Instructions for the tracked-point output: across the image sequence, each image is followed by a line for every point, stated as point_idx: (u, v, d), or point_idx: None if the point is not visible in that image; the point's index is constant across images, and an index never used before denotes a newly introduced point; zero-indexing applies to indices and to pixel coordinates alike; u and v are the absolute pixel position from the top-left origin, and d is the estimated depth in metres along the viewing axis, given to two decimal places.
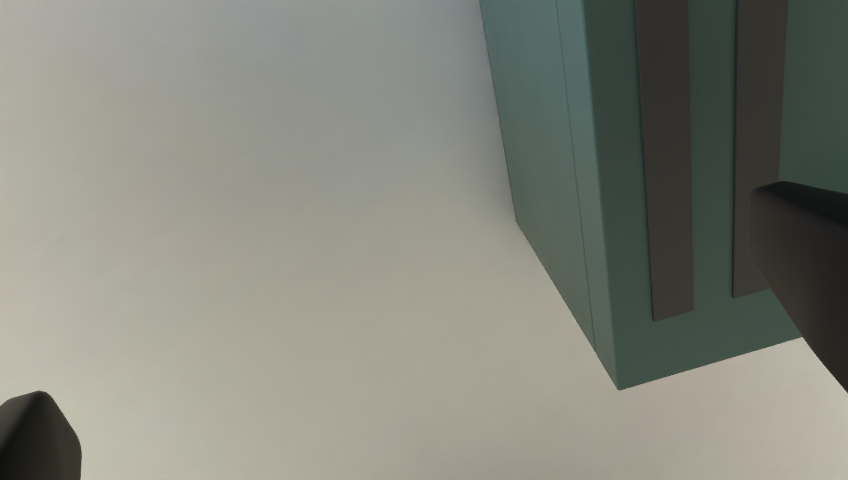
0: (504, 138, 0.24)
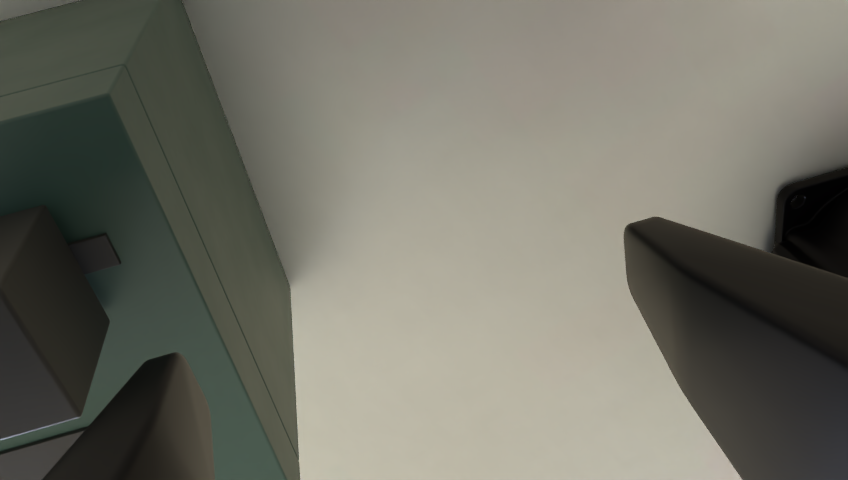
0: None
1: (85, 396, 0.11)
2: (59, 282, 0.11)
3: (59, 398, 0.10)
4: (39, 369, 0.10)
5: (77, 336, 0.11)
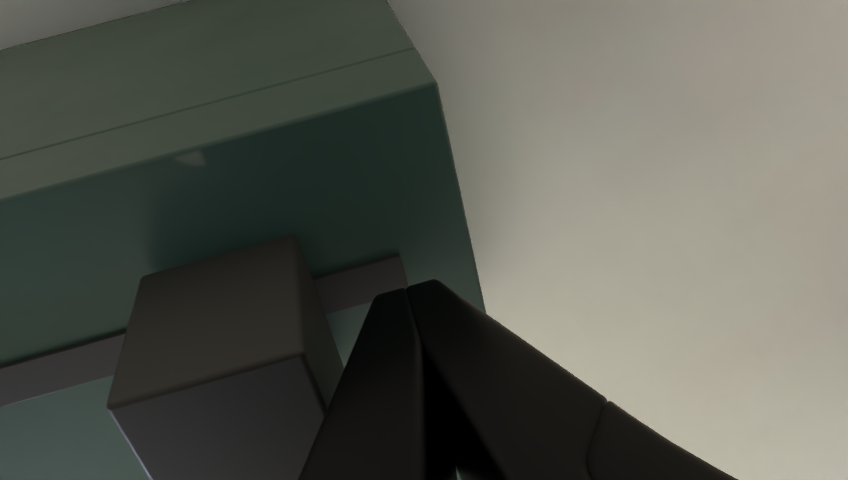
0: None
1: None
2: (321, 332, 0.09)
3: None
4: None
5: None
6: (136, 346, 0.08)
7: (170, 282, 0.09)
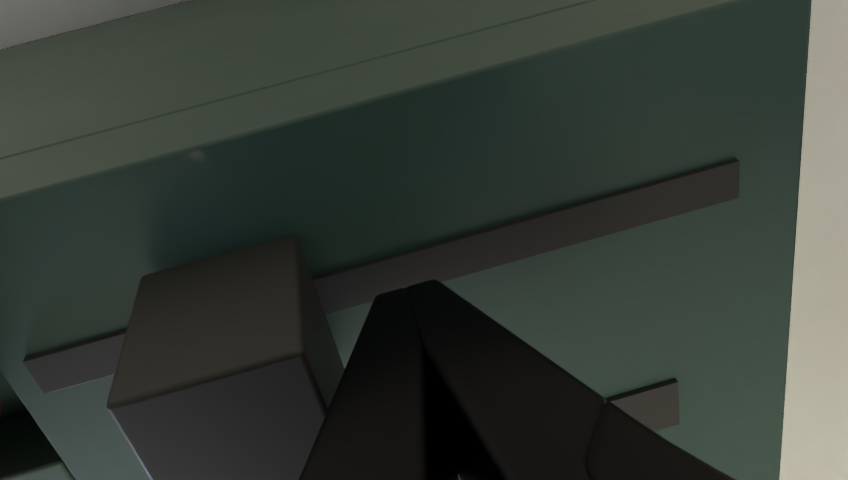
0: None
1: None
2: (321, 331, 0.09)
3: None
4: None
5: None
6: (136, 346, 0.08)
7: (171, 281, 0.09)
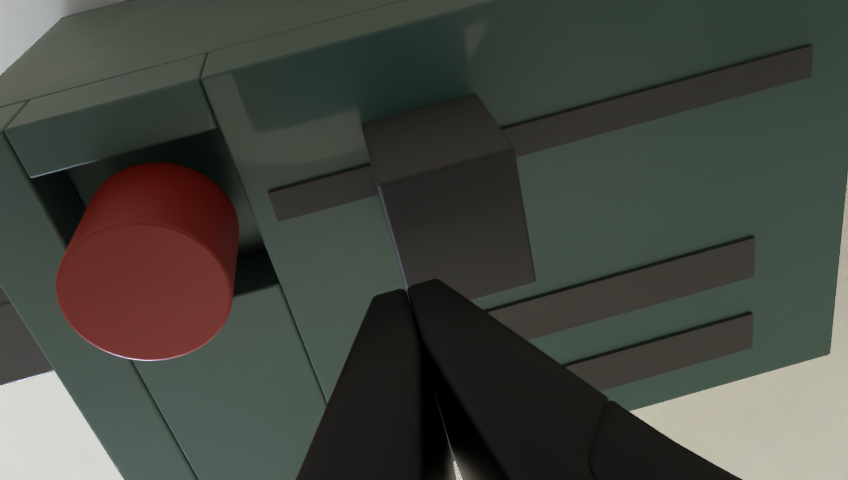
0: None
1: None
2: None
3: (525, 262, 0.11)
4: (519, 231, 0.11)
5: None
6: (382, 155, 0.11)
7: (389, 124, 0.12)
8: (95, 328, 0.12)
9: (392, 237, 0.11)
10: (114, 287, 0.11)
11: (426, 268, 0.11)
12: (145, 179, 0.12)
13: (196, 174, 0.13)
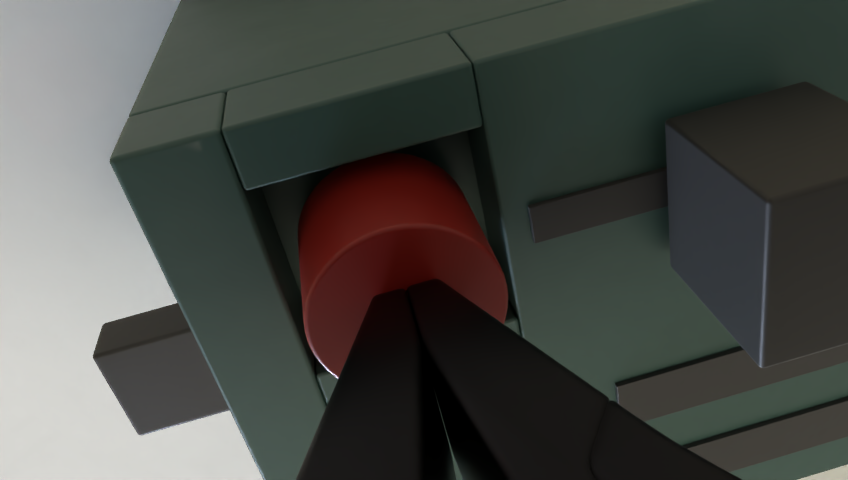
0: None
1: None
2: None
3: None
4: None
5: None
6: (740, 162, 0.08)
7: (710, 120, 0.09)
8: (342, 356, 0.09)
9: (766, 270, 0.08)
10: None
11: (795, 309, 0.08)
12: (390, 173, 0.10)
13: (435, 166, 0.11)
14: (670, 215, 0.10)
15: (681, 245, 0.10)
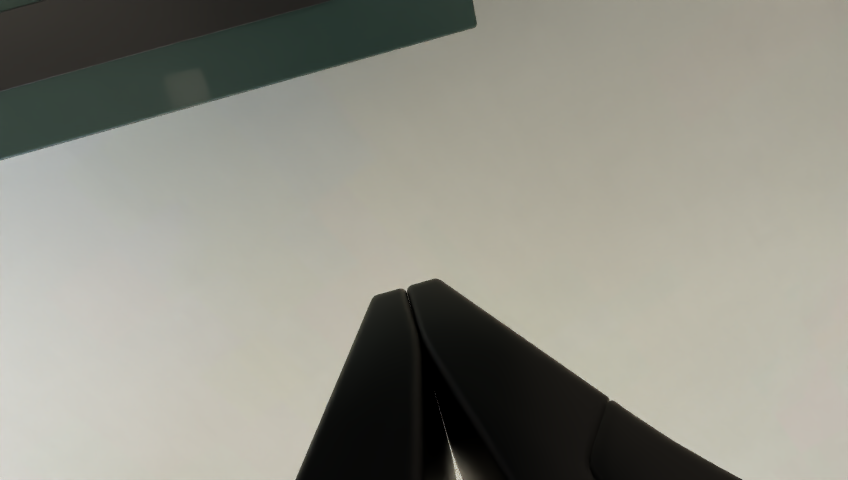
0: None
1: None
2: None
3: None
4: None
5: None
6: None
7: None
8: None
9: None
10: None
11: None
12: None
13: None
14: None
15: None
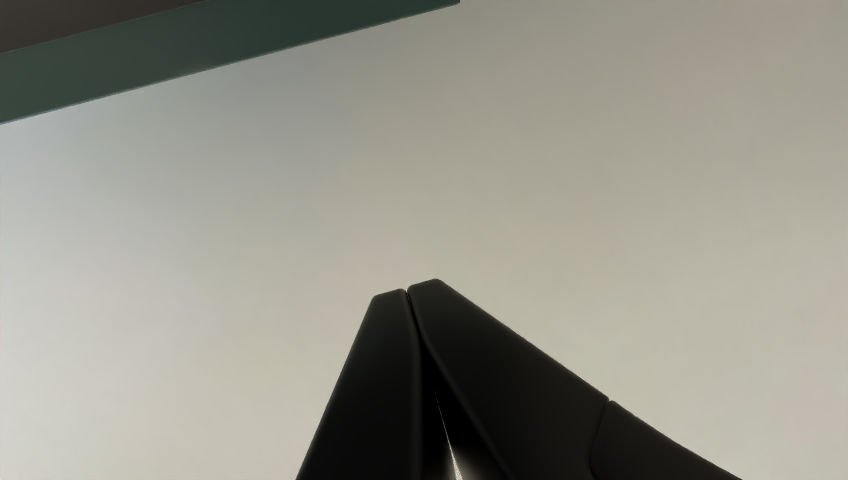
0: None
1: None
2: None
3: None
4: None
5: None
6: None
7: None
8: None
9: None
10: None
11: None
12: None
13: None
14: None
15: None
